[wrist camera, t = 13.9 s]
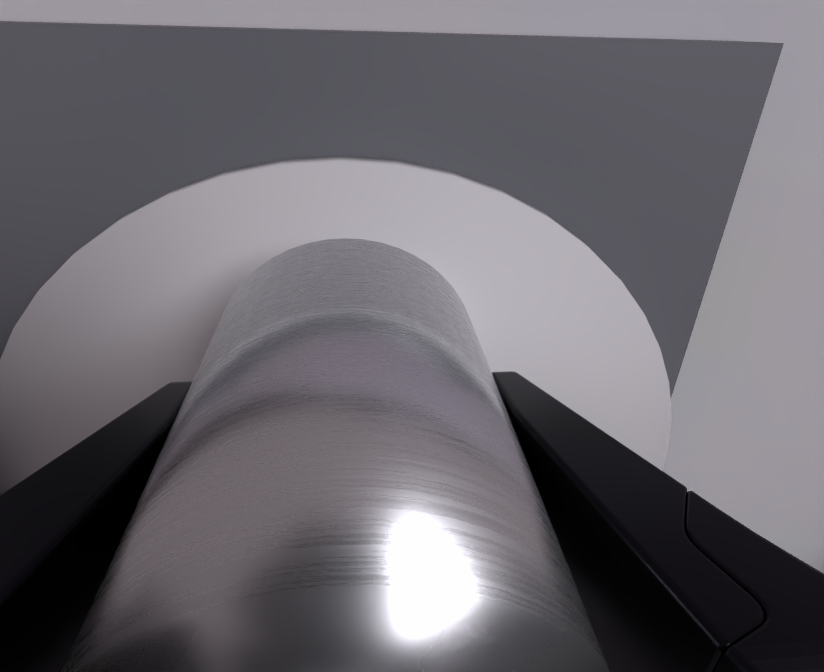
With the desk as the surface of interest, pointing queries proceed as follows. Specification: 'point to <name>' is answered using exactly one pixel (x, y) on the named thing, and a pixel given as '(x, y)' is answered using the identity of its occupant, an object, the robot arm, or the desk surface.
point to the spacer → (340, 495)
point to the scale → (359, 200)
